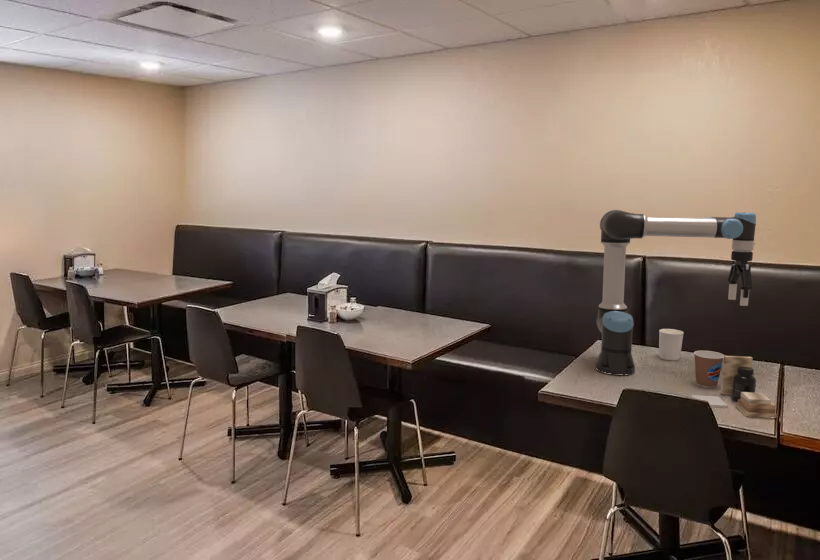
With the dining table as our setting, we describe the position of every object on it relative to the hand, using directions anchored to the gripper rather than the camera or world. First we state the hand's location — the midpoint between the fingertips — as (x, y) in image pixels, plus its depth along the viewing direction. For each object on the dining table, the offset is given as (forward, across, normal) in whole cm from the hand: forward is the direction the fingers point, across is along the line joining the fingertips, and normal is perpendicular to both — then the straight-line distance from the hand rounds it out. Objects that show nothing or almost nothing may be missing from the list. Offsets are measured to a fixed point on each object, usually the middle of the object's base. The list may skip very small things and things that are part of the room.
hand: (737, 302), depth 237 cm
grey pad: (+28, -46, +22) cm, 58 cm away
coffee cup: (+28, -26, +17) cm, 42 cm away
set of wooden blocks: (+28, -46, +10) cm, 55 cm away
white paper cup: (+28, +10, +22) cm, 37 cm away
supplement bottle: (+28, -42, +10) cm, 52 cm away
